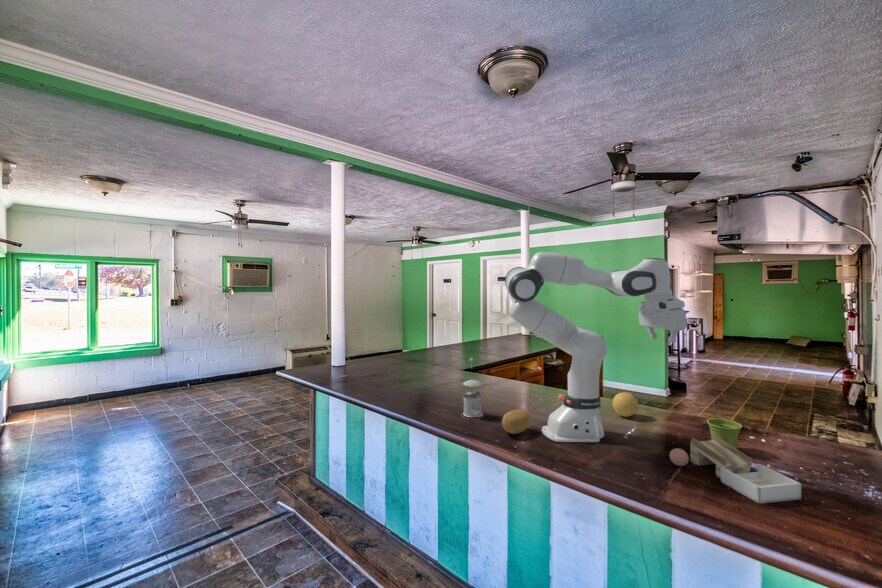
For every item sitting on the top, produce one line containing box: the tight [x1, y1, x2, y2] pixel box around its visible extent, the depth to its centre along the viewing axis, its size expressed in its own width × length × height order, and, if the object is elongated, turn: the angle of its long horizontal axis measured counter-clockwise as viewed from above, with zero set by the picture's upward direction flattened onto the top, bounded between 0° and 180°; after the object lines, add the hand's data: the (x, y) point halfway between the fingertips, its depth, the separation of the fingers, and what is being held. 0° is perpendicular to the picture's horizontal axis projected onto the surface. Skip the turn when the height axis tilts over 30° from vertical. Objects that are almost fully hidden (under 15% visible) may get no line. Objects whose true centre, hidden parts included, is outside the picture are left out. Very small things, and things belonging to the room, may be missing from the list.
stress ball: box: [612, 391, 640, 418], centre depth 163 cm, size 10×10×10 cm
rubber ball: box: [669, 447, 690, 467], centre depth 117 cm, size 5×5×5 cm
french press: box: [462, 357, 484, 418], centre depth 169 cm, size 10×12×25 cm
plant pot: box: [706, 418, 743, 449], centre depth 128 cm, size 9×9×9 cm
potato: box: [501, 408, 531, 435], centre depth 147 cm, size 10×14×8 cm
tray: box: [720, 463, 802, 505], centre depth 103 cm, size 12×11×4 cm
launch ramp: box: [689, 436, 753, 479], centre depth 115 cm, size 9×12×7 cm
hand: (662, 340), depth 140 cm, fingers open, 8 cm apart
